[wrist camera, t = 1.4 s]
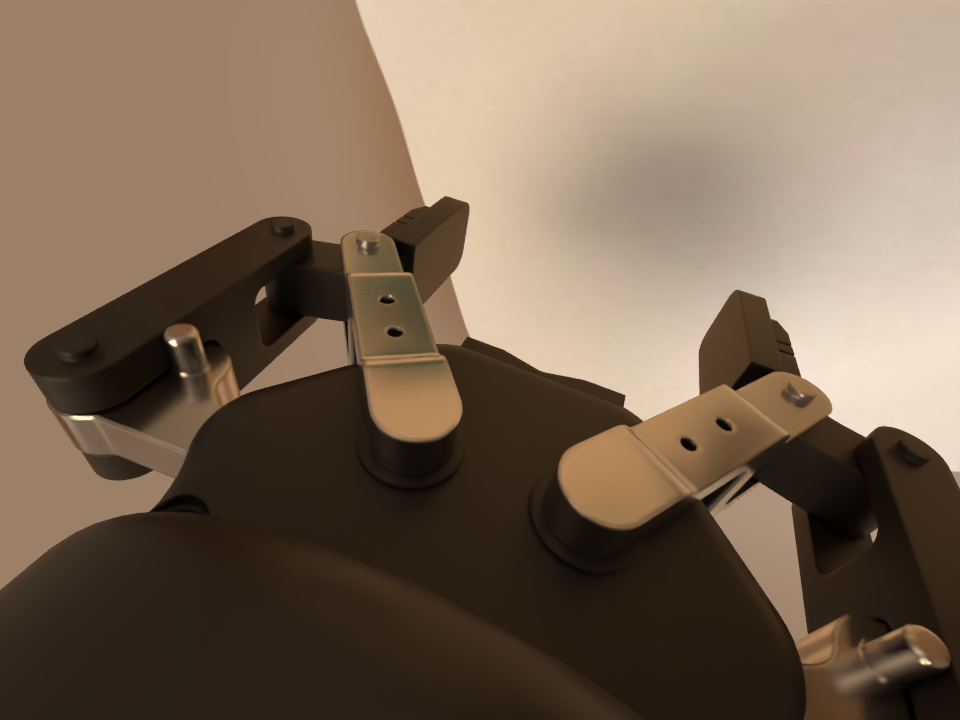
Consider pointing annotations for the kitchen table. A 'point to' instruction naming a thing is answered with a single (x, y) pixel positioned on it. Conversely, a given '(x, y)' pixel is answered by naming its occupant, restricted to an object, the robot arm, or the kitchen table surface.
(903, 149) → the kitchen table surface
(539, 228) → the kitchen table surface
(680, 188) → the kitchen table surface
